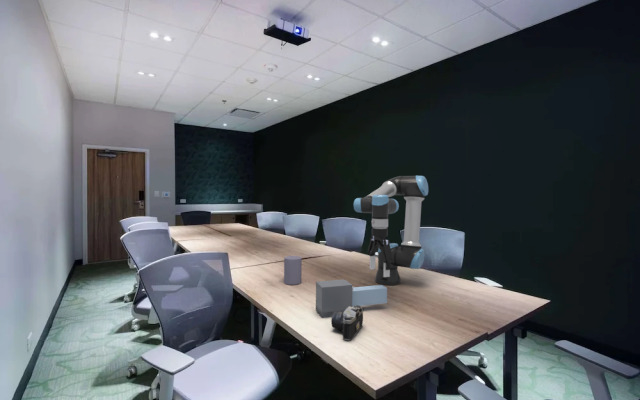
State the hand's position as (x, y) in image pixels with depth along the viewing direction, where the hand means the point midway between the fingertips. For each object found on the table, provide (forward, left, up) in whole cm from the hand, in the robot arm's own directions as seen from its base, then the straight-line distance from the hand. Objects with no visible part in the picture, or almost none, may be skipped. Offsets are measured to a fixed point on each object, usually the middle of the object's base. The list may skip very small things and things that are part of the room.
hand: (379, 272), depth 142 cm
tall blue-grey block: (+6, 0, -14) cm, 15 cm away
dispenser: (+23, 0, -16) cm, 28 cm away
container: (+31, -49, -17) cm, 60 cm away
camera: (+24, +19, -17) cm, 35 cm away
